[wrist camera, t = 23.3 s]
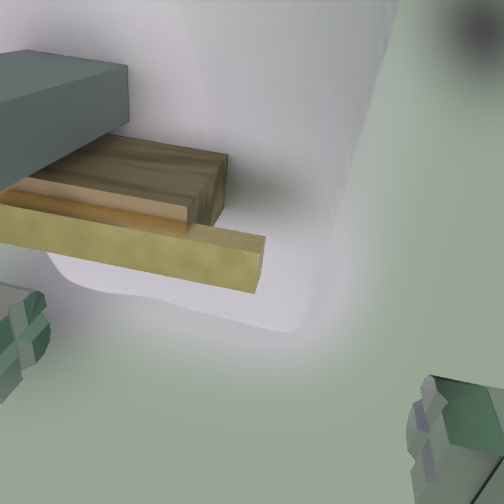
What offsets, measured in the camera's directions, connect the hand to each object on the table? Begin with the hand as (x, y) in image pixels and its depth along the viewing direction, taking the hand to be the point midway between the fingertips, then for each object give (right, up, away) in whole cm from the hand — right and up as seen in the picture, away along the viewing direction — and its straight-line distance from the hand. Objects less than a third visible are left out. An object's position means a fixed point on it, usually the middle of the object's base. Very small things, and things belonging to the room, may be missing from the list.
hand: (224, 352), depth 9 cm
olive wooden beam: (-10, +4, +31) cm, 33 cm away
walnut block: (-12, +12, +44) cm, 47 cm away
